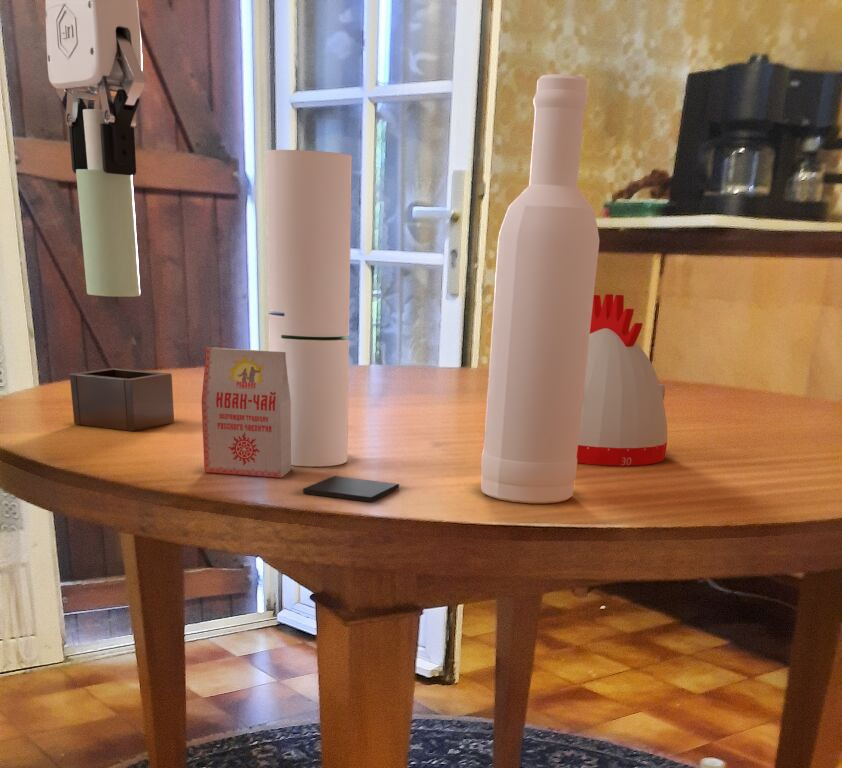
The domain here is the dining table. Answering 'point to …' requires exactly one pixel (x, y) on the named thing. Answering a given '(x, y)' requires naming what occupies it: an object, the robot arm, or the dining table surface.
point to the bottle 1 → (106, 221)
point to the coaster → (351, 488)
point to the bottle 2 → (542, 312)
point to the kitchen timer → (620, 393)
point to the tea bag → (246, 413)
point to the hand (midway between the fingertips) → (104, 172)
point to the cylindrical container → (311, 295)
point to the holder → (122, 399)
